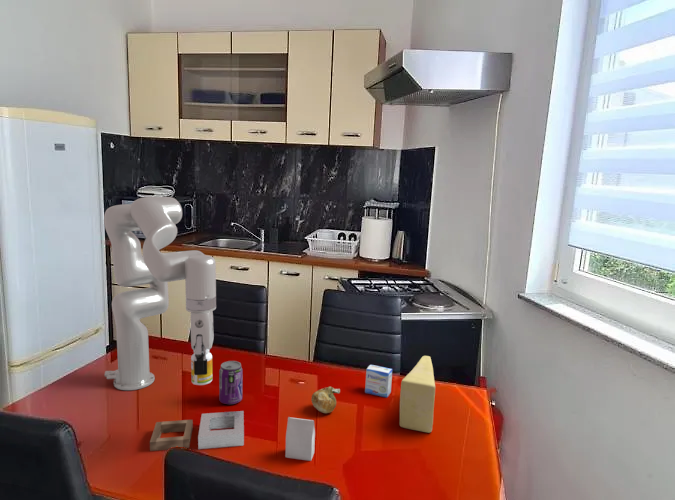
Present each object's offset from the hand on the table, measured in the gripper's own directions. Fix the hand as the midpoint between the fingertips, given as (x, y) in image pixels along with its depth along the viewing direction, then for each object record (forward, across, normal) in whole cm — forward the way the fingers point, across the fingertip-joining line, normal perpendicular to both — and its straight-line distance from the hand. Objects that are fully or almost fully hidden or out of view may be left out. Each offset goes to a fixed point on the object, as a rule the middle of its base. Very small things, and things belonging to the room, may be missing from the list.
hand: (202, 368), depth 122 cm
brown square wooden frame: (+20, 0, +8) cm, 21 cm away
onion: (+20, +10, -35) cm, 41 cm away
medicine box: (+20, +20, -55) cm, 61 cm away
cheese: (+20, +6, -64) cm, 68 cm away
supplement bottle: (+4, 0, 0) cm, 4 cm away
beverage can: (+20, +19, -7) cm, 28 cm away
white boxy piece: (+20, -11, -25) cm, 34 cm away
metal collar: (+20, 0, -5) cm, 20 cm away
